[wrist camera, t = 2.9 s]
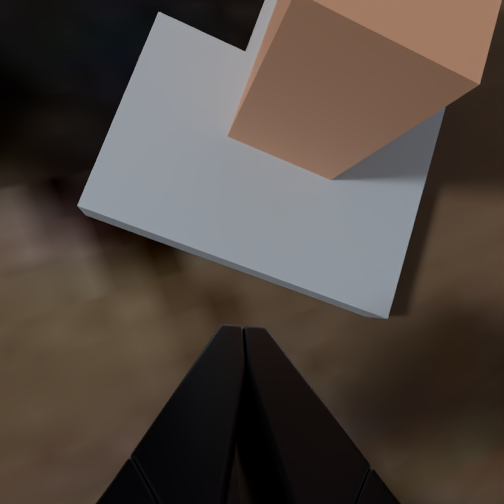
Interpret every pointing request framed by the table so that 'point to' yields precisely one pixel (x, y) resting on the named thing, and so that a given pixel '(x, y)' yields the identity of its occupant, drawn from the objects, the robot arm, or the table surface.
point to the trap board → (251, 179)
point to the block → (358, 75)
